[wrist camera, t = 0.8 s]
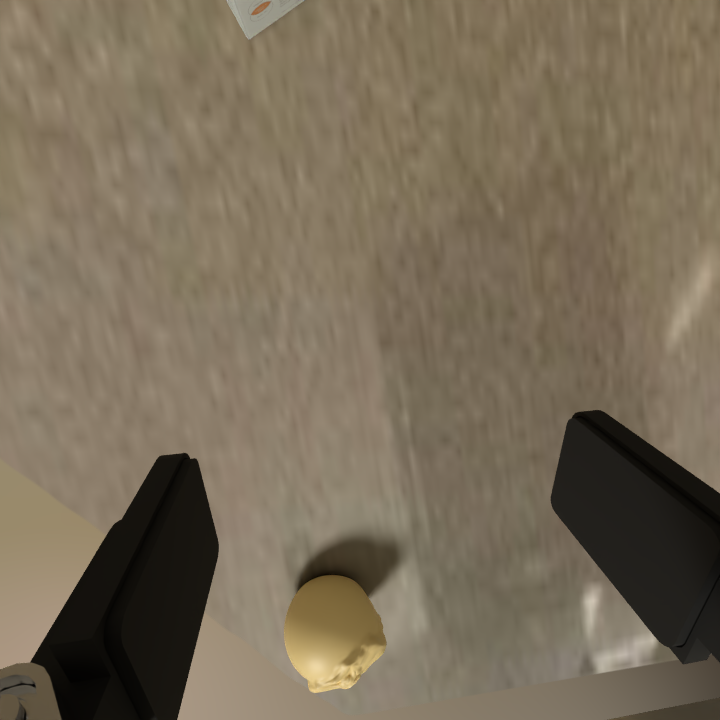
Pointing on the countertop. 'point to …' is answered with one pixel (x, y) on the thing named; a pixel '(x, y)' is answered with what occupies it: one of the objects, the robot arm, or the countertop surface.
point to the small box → (259, 13)
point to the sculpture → (332, 633)
